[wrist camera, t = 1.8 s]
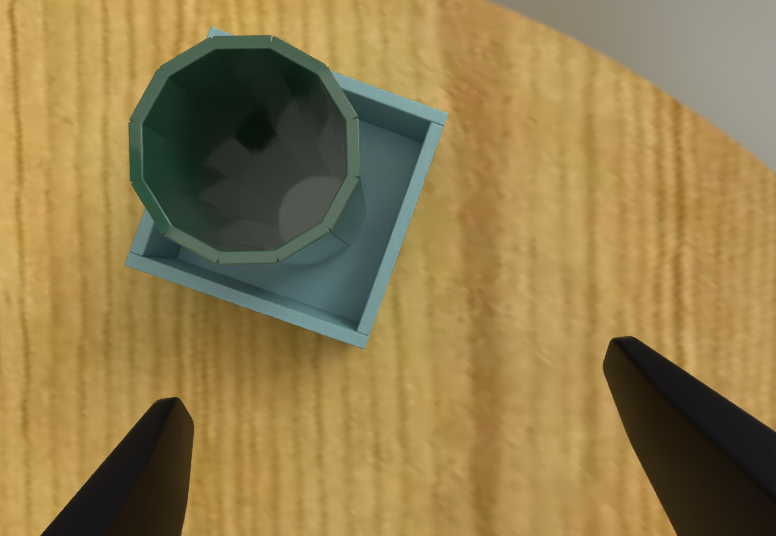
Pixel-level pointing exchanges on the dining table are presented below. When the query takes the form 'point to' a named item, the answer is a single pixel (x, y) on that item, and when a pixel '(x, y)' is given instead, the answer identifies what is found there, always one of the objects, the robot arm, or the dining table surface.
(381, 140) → the bin
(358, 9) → the dining table surface
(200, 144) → the cup
